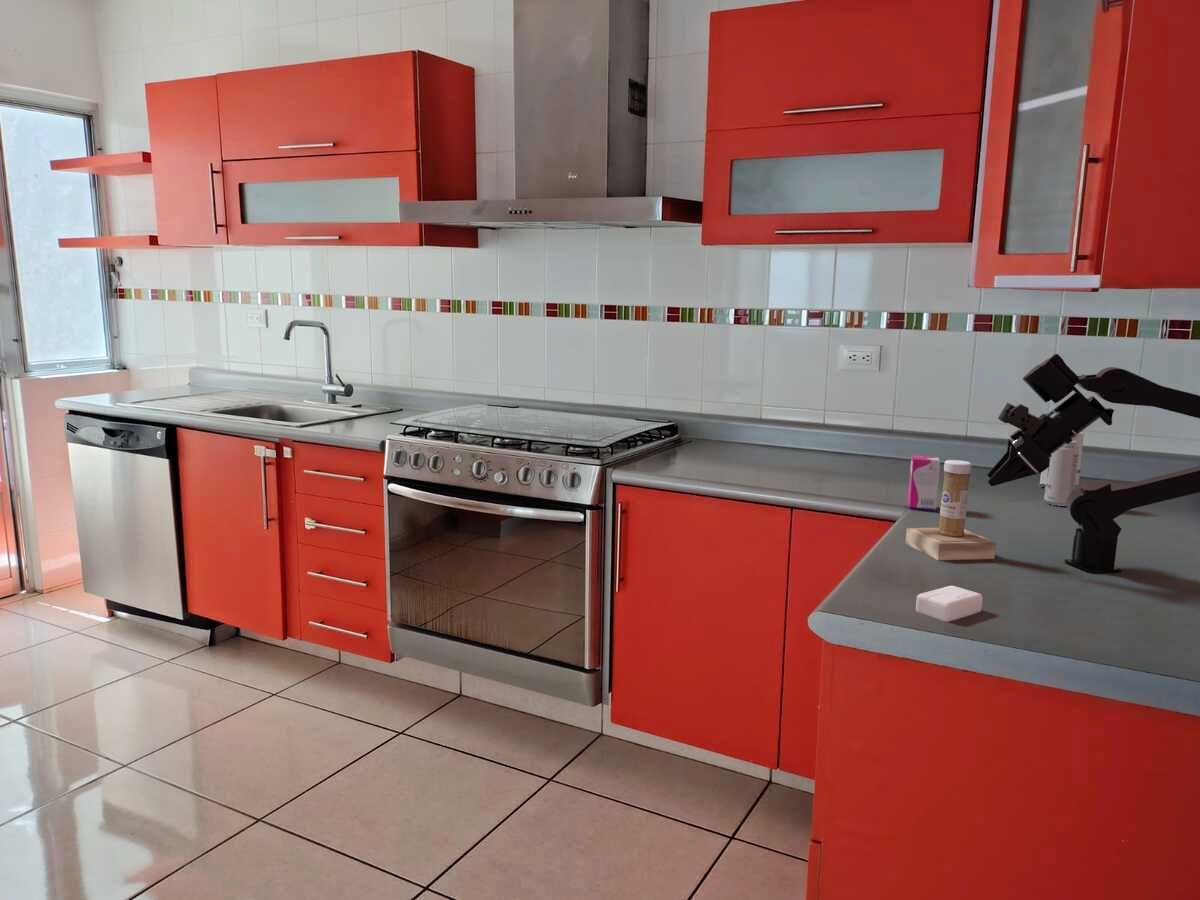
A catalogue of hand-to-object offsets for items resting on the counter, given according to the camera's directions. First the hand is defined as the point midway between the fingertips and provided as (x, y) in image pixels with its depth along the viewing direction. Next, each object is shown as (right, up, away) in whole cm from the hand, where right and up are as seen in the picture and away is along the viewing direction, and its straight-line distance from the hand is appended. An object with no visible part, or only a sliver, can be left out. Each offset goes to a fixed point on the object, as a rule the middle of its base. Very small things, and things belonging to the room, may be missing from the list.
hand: (989, 480), depth 159 cm
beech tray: (-6, -13, +4) cm, 15 cm away
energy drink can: (+37, -8, +49) cm, 62 cm away
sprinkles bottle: (-6, -10, +3) cm, 12 cm away
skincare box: (+48, -5, +69) cm, 84 cm away
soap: (-19, -18, -30) cm, 40 cm away
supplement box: (+2, -8, +40) cm, 41 cm away
